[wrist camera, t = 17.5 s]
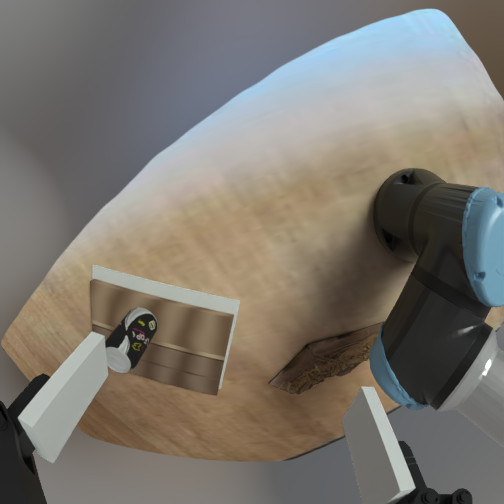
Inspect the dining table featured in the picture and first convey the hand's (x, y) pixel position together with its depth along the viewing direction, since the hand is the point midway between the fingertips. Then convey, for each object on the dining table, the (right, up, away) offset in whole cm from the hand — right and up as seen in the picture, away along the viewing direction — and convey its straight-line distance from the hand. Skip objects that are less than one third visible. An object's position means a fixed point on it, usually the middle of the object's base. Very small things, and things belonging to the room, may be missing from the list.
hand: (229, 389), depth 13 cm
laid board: (-17, -14, +37) cm, 43 cm away
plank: (-16, -5, +34) cm, 38 cm away
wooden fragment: (+16, -13, +37) cm, 42 cm away
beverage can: (-17, -5, +33) cm, 38 cm away
